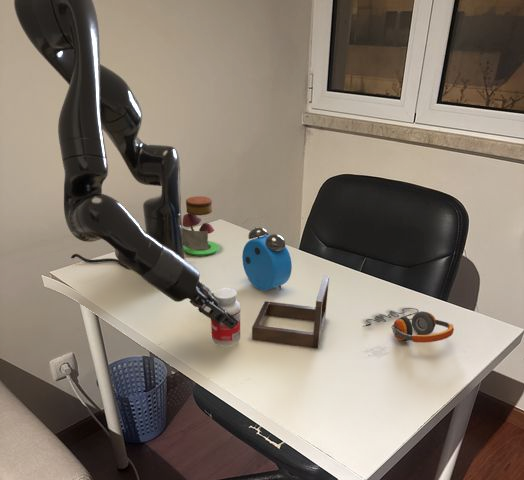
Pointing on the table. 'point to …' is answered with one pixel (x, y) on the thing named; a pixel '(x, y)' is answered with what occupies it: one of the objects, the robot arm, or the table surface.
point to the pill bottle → (231, 305)
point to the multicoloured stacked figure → (198, 240)
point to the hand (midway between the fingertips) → (229, 317)
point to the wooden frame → (293, 312)
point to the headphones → (417, 327)
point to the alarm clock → (266, 260)
